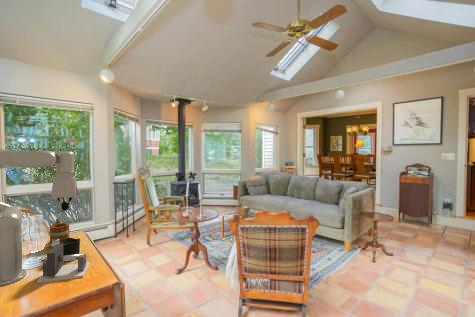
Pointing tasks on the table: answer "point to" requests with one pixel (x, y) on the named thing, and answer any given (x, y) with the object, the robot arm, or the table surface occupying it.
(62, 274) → the base board
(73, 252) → the pen holder
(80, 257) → the pipe
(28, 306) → the table surface
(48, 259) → the collar
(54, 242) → the valve
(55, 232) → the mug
